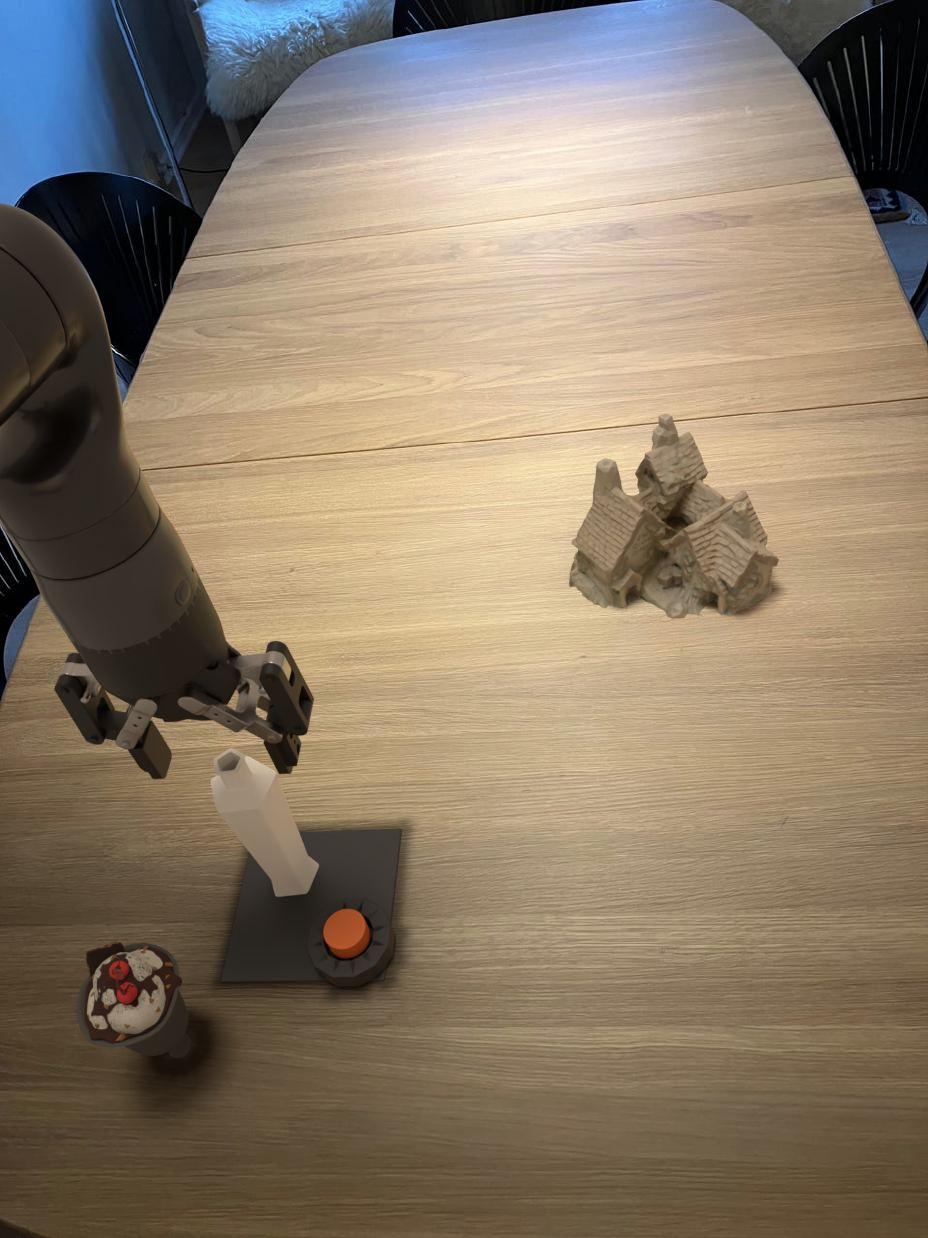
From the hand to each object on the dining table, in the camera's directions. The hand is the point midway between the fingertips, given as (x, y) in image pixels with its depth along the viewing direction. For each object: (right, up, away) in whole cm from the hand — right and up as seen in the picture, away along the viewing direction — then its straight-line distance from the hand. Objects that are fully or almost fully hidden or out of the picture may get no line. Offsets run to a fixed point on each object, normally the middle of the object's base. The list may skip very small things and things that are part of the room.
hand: (225, 765), depth 67 cm
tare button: (+7, -13, +6) cm, 16 cm away
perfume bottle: (+3, -10, +11) cm, 15 cm away
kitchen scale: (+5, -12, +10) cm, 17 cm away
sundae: (-4, -21, +5) cm, 22 cm away
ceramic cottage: (+34, +13, +27) cm, 45 cm away
